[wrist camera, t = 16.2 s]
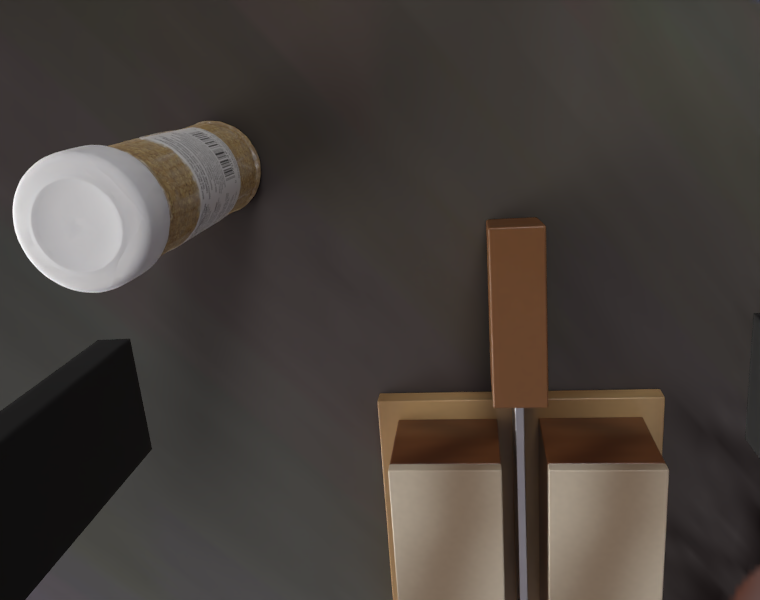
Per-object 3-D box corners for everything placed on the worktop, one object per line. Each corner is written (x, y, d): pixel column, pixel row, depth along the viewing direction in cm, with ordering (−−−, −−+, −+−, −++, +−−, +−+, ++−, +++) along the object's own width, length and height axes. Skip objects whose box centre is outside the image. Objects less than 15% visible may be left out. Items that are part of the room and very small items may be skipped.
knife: (486, 219, 34) (487, 227, 30) (537, 217, 34) (546, 225, 30) (498, 651, 39) (501, 706, 35) (544, 652, 38) (553, 709, 35)
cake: (660, 388, 36) (696, 449, 30) (648, 621, 40) (678, 712, 34) (379, 393, 38) (363, 450, 32) (396, 614, 42) (385, 700, 36)
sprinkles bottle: (157, 139, 35) (-20, 180, 22) (242, 105, 34) (106, 128, 21) (196, 227, 36) (48, 314, 23) (279, 197, 35) (171, 271, 22)
